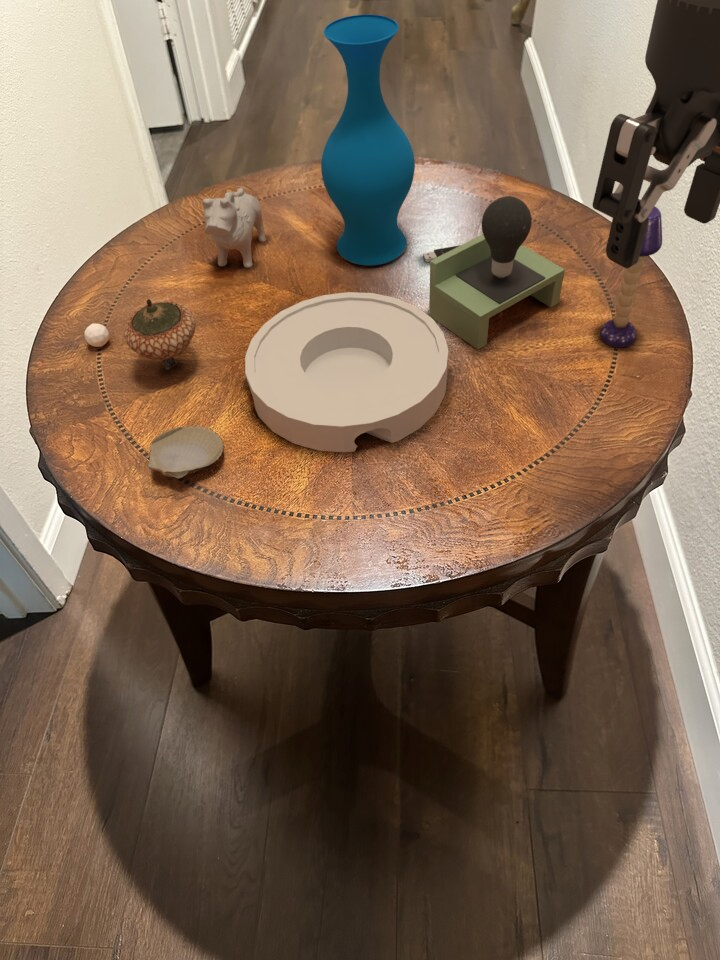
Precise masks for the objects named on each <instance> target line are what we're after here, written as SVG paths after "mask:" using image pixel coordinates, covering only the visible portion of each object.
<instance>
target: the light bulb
mask: <svg viewBox="0 0 720 960" xmlns="http://www.w3.org/2000/svg"><path fill="white" fill-rule="evenodd" d="M531 213H532V212H531V211H530V209H529V207H528V205H527V204H526V203H525V201H523V200H521V199H520V198H518V197H515V196H510V195H509V196H508V195H507V196H502V197H498V198H497V199H495V200H493V201H492V202H491V203H489V204H488V206H487V207H486V209H485V210H484V212H483V214H482V219H481V232H482V234H483V235H484V238H485V240H486V241H487V243H488V245H489V247H490V251H491V257H492V268H491V270H492V273H493V274H494V275H496V276H497V277H498V278H504V277H506V276H508V275H509V274H511V271H512V268H513V260H514V258H515V256H516V253H517V250H518V249H519V247H520V246H521V245H523V244H524V242H525V241H526V240H527V238H528V236H529V234H530V232H531V228H532V220H533V219H532V214H531Z"/></svg>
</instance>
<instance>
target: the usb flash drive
mask: <svg viewBox="0 0 720 960" xmlns="http://www.w3.org/2000/svg"><path fill="white" fill-rule="evenodd" d="M461 245H462V244H460V245H454V246H448V247H442V248H436V249H434V250H433V251H432V252H426V253H422V258H423V260H424V262H426V263H427V262H430V261H431V260H433V259H435V258H437V257H439V256H441V255H443V254H445V253H447V252H449V251H451V250H453V249H455V248H457V247H459V246H461Z"/></svg>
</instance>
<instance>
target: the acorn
mask: <svg viewBox="0 0 720 960" xmlns="http://www.w3.org/2000/svg"><path fill="white" fill-rule="evenodd" d="M196 325H197V322H196V320H195V317H194V316H193V313H192V311H191V310H190V309H189V308H188V307H187V306H185V305H183V304H182V303H180V302H176V301H166V300H165V301H159V302H154V303H153V302H152V300H151V299H149V298H148V299H147V300H146V305H144V306H142V307H140V308H139V309H137V310H135V312H134V313H133V314H132V315H131V317H130V318H129V319H128V321H126V322H125V327H124V330H123V337H124V340H125V343H126V345H127V346H128V347H129V349H130V350H132V351H133V352H135V353H136V354H138V355H140V356H141V357H143V358H146V359H148V360H150V361H156V360H157V361H161V360H162V365H163V366H164V369H165V370H170V369H171V368H173V367H175V366H177V364H178V362H177V360H176V359H175V357H177V356H179V355H182V354H183V352H184V351H186V350H187V349H188V347H189V345H190V343H191V341H192V340H193V338H194V335H195V333H196Z"/></svg>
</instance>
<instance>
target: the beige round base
mask: <svg viewBox="0 0 720 960" xmlns="http://www.w3.org/2000/svg"><path fill="white" fill-rule="evenodd" d="M244 367H245V368H244V369H245V370H244V373H245V378H246V379H245V380H246V382H247V385H248V388H249V391H250V393H251V396H252V400H253V405H254V409H255V412H256V414H257V417H258V418H259V419H260V420H261V421H262V422H263V423H264V424H265V425H266V426H267V427H268V428H269V430H270V431H271V432H273V433H274V434H276V435H278V436H279V437H281V438H283V439H285V440H286V441H288V442H290V443H292V444H293V445H299V446H301V447H305V448H307V449H311V450H315V451H321V452H333V453H352V452H356V449H357V448H358V445H357V444H356V443H355V441H356V438H357V437H359V436H360V435H362V434H364V433H366V434H368V435H370V436H372V437H373V436H374V437H376V438H378V439H380V440H383V441H386V442H388V443H391V444H393V443H395V442H399V441H401V440H402V439H404V438H406V437H408V436H409V435H411V434H413V433H414V432H416V431H418V430H420V429H421V428H422V427H423V426H424V425H425V424H426V423H427V422H428V421H429V420H430V419H432V417H433V416H434V415H435V414H436V413H437V411H438V410H439V408H440V406H441V404H442V403H443V400H444V399H445V396H446V393H447V384H448V375H449V374H448V372H449V348H448V344H447V341H446V337H445V334H444V332H443V330H442V329H441V328H440V327H439V325H438V324H437V322H436V320H435V319H434V318H432V317H431V316H430V315H429V314H428V313H425V312H424V311H423V310H421V309H420V308H419V307H418V306H416V305H413V304H411V303H408V302H406V301H404V300H403V299H399V298H397V297H394V296H388V295H384V294H380V293H379V294H378V293H374V292H359V291H358V292H357V291H356V292H354V291H347V292H339V293H329V294H323V295H319V296H316V297H312V298H308V299H304V300H302V301H300V302H297V303H295V304H293V305H291V306H289V307H287V308H285V309H283V310H281V311H279V312H278V313H277V314H275V315H274V316H272V317H271V318H270V319H269V320H267V321H266V322H264V323H263V325H262V326H261V327H260V328H259V330H258V331H257V332H256V333H255V334H254V336H253V337H252V338H251V340H250V342H249V345H248V347H247V350H246V352H245V358H244Z"/></svg>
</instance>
